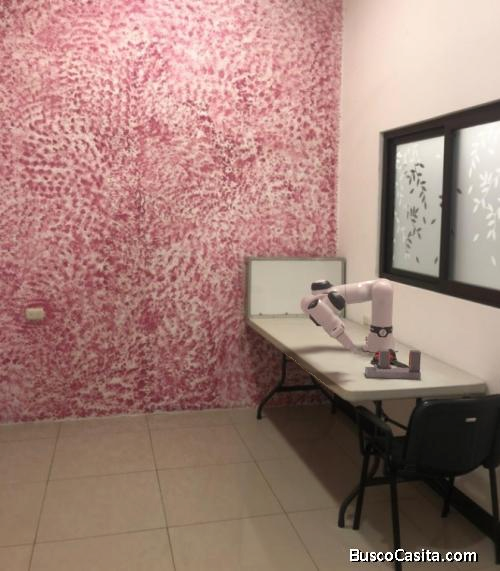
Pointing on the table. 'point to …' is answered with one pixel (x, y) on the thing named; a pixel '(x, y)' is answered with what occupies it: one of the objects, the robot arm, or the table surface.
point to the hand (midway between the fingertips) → (356, 350)
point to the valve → (392, 359)
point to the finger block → (384, 359)
